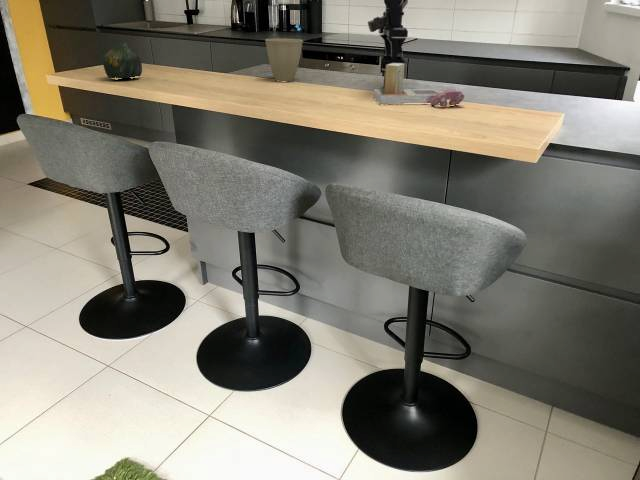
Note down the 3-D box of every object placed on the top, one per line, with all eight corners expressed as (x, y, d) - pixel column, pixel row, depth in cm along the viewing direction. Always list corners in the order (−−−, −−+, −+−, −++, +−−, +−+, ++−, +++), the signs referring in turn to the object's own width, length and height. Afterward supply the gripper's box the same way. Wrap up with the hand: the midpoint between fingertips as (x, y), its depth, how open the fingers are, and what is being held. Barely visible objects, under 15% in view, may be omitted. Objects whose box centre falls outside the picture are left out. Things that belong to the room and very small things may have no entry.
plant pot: (301, 84, 205) (301, 41, 198) (264, 83, 205) (263, 40, 198) (303, 78, 218) (303, 38, 211) (268, 77, 219) (267, 37, 212)
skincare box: (390, 99, 178) (393, 62, 173) (402, 100, 176) (405, 63, 171) (382, 102, 173) (385, 64, 168) (394, 103, 171) (397, 65, 166)
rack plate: (373, 98, 179) (374, 88, 178) (434, 98, 181) (435, 88, 180) (380, 104, 169) (380, 94, 167) (445, 104, 171) (446, 94, 169)
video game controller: (433, 112, 166) (440, 94, 161) (428, 103, 169) (435, 85, 164) (460, 111, 169) (468, 93, 164) (455, 102, 172) (462, 84, 166)
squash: (89, 66, 202) (106, 36, 195) (113, 63, 216) (131, 35, 209) (115, 92, 204) (133, 64, 196) (138, 88, 217) (156, 61, 210)
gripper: (365, 7, 179) (363, 54, 186) (375, 8, 162) (372, 60, 169) (397, 7, 180) (393, 54, 186) (410, 9, 163) (405, 61, 170)
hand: (390, 57), depth 178 cm, fingers open, 9 cm apart
